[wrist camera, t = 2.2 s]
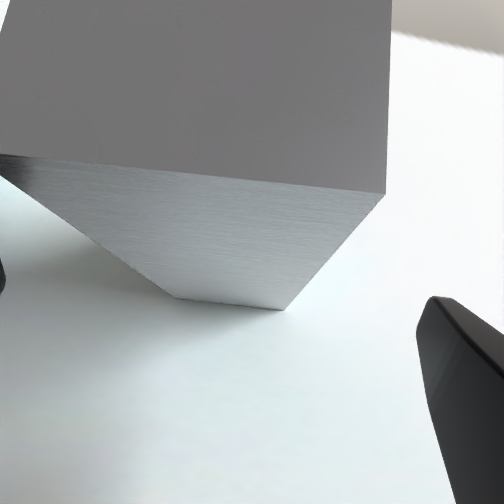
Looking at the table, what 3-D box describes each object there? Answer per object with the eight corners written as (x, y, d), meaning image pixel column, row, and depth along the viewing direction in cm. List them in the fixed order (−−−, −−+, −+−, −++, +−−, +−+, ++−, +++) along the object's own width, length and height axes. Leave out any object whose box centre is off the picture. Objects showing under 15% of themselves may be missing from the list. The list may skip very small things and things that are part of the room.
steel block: (284, 310, 18) (385, 194, 5) (175, 298, 18) (-37, 149, 5) (291, 227, 19) (394, -73, 6) (188, 216, 19) (42, -105, 6)
